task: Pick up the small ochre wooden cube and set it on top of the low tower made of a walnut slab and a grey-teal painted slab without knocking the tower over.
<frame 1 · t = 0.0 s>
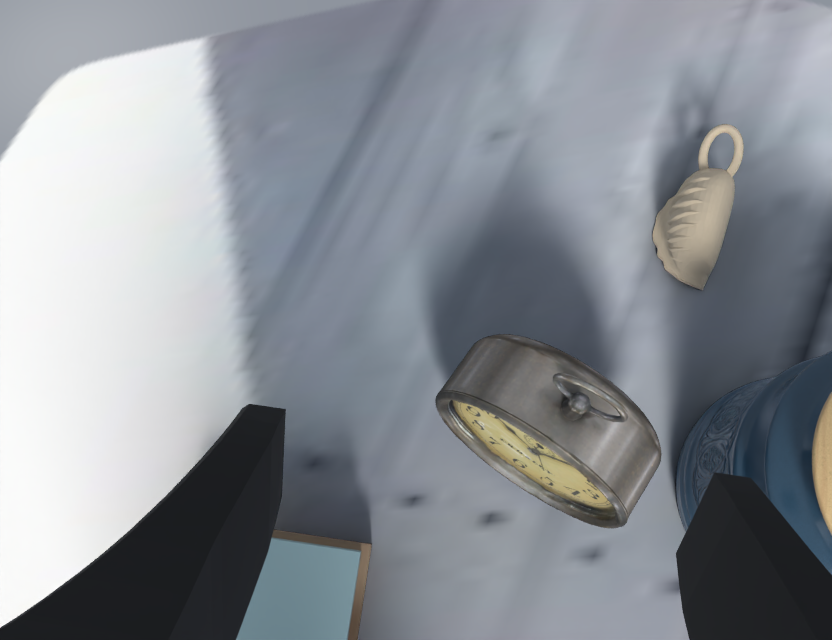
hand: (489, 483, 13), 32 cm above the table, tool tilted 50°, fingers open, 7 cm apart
decorative ornament: (689, 227, 50), on the table
tower base: (267, 624, 43), on the table, touching tower top
tower top: (260, 628, 40), point 2 cm above the table, touching tower base
alarm clock: (525, 440, 46), on the table
canister: (778, 494, 46), on the table
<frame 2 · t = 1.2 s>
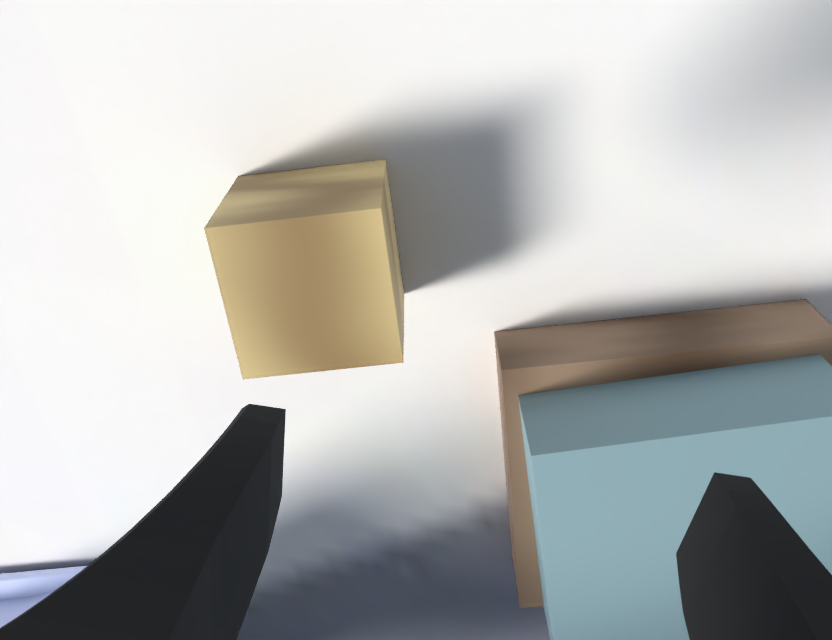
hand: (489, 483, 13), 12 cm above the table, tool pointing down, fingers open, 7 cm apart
tower base: (641, 431, 28), on the table, touching tower top
tower top: (669, 491, 26), point 2 cm above the table, touching tower base
ochre cube: (324, 236, 24), on the table
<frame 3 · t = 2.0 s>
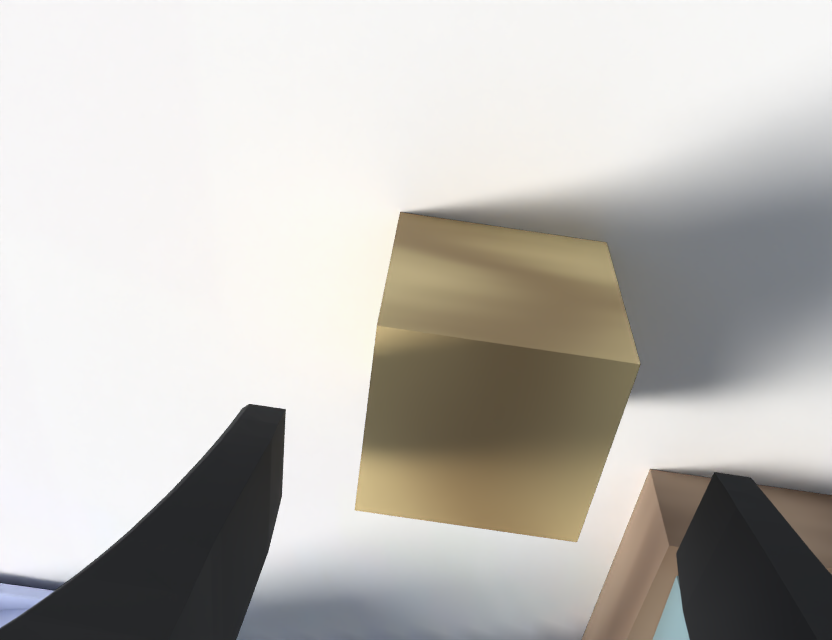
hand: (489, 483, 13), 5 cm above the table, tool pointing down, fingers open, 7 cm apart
tower base: (765, 602, 23), on the table, touching tower top
ochre cube: (485, 311, 18), on the table
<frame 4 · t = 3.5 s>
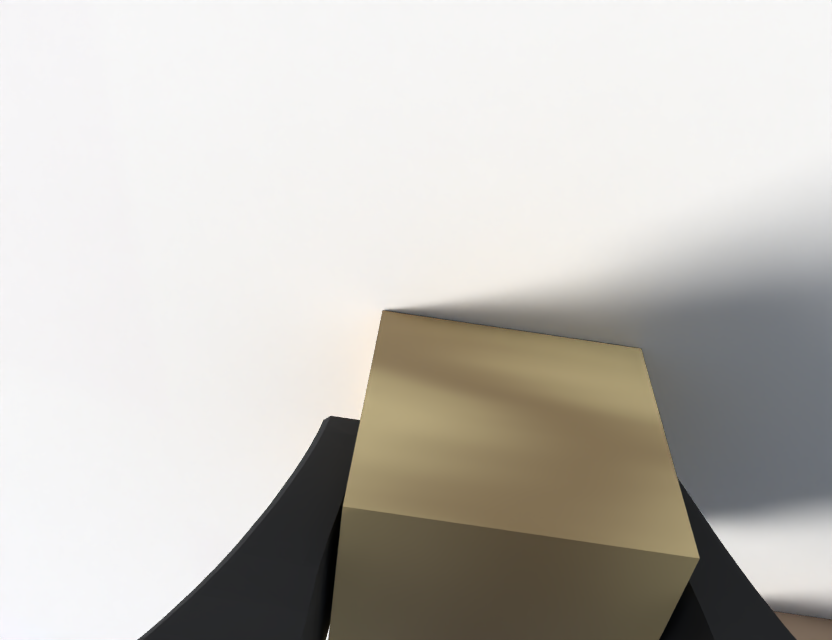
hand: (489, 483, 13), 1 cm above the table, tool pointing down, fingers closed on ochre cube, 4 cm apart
ochre cube: (488, 427, 14), on the table, touching gripper
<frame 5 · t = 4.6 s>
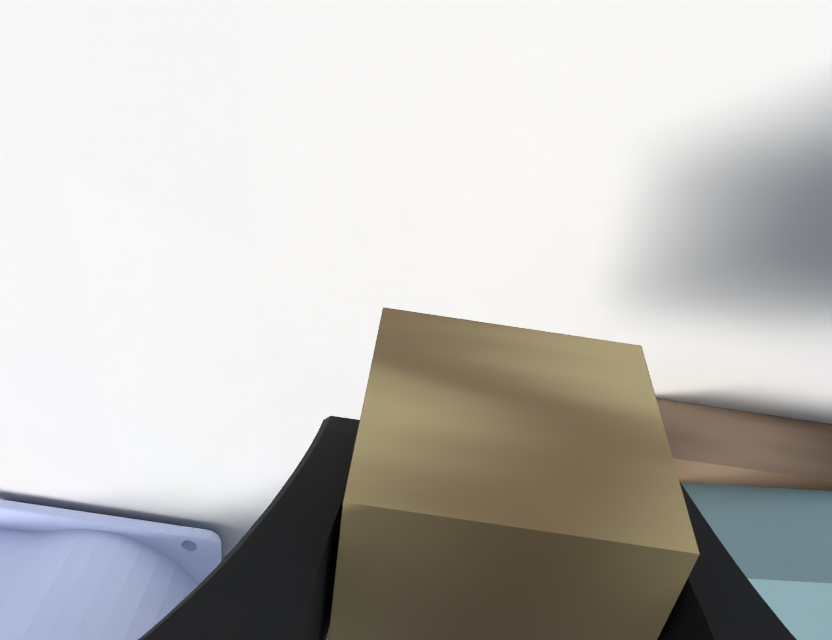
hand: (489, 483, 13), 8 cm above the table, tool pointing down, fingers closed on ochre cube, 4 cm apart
tower base: (738, 523, 26), on the table, touching tower top
tower top: (767, 598, 23), point 2 cm above the table, touching tower base
ochre cube: (489, 424, 14), point 7 cm above the table, touching gripper
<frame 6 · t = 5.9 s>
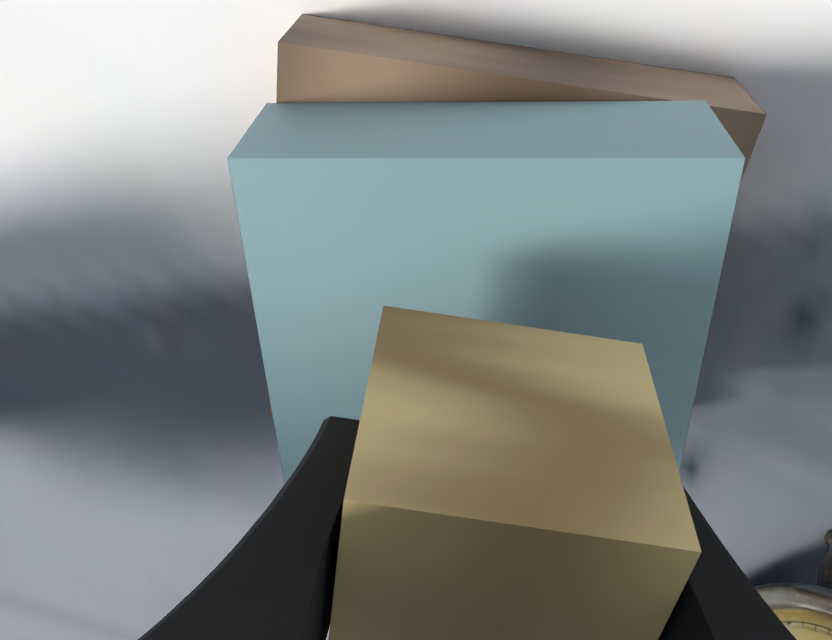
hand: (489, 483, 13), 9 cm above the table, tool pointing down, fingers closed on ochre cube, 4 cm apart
tower base: (481, 229, 21), on the table, touching tower top
tower top: (478, 288, 19), point 2 cm above the table, touching tower base
ochre cube: (489, 422, 14), point 7 cm above the table, touching gripper
alarm clock: (754, 602, 28), on the table
when the fingers open (8 cm above the table, at t = 6.4 s): ochre cube drops 2 cm, resting on tower top.
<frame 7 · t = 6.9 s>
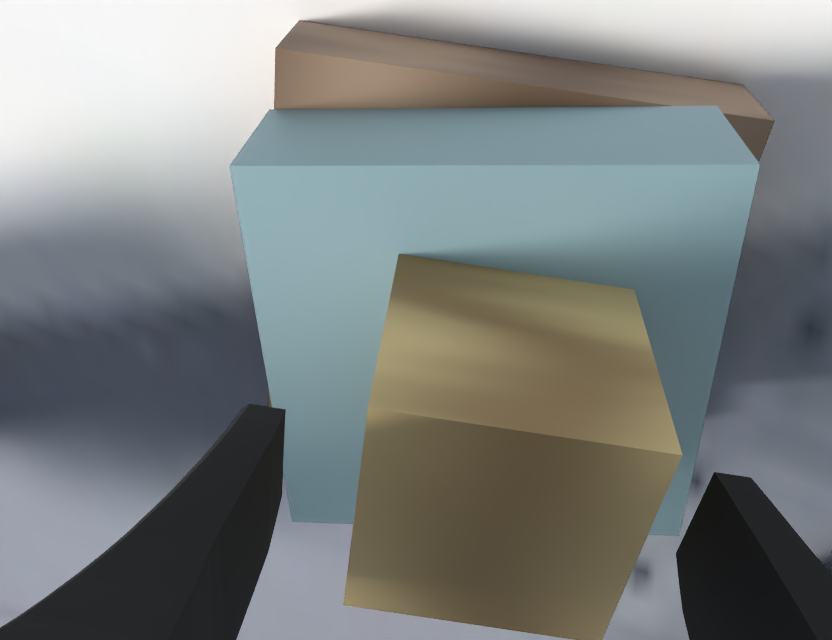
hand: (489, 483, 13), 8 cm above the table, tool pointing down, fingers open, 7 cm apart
tower base: (483, 236, 21), on the table, touching tower top
tower top: (484, 296, 18), point 2 cm above the table, touching ochre cube, tower base
ochre cube: (494, 365, 16), point 5 cm above the table, touching tower top
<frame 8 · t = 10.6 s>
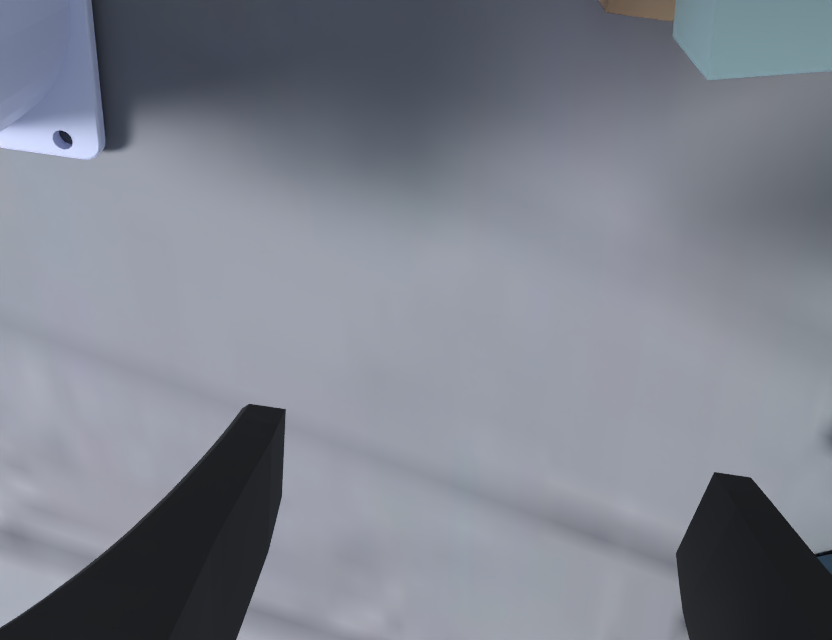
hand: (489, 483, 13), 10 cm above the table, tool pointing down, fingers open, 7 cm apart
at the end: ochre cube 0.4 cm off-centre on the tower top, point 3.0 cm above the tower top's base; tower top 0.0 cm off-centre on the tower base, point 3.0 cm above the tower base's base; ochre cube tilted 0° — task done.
